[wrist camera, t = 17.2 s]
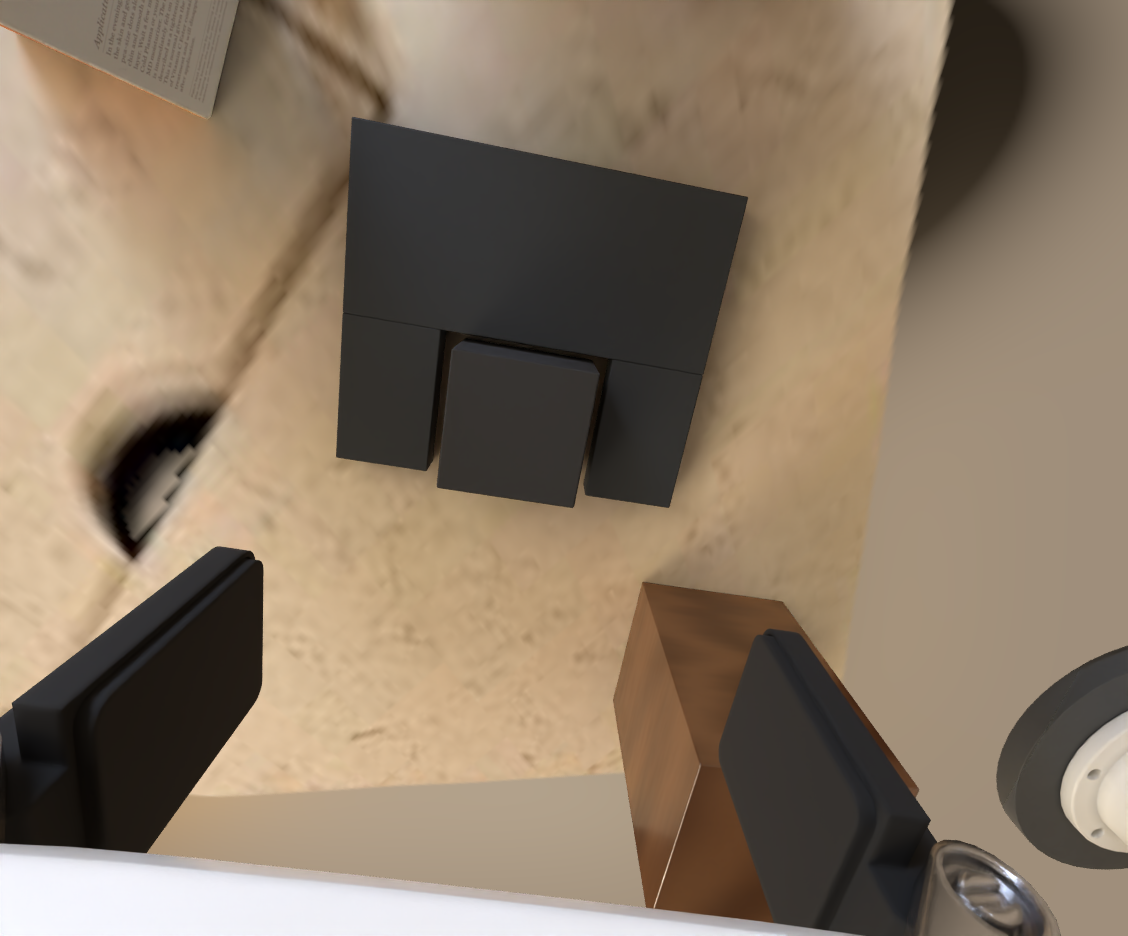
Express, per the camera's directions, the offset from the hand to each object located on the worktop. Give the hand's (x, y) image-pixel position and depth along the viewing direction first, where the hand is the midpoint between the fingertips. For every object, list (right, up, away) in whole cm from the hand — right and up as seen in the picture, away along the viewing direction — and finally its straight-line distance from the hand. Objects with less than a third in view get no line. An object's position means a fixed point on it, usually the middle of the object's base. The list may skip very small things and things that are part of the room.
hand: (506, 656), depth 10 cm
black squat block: (-1, +6, +16) cm, 18 cm away
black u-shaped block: (0, +10, +15) cm, 18 cm away
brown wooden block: (+9, -7, +21) cm, 24 cm away
